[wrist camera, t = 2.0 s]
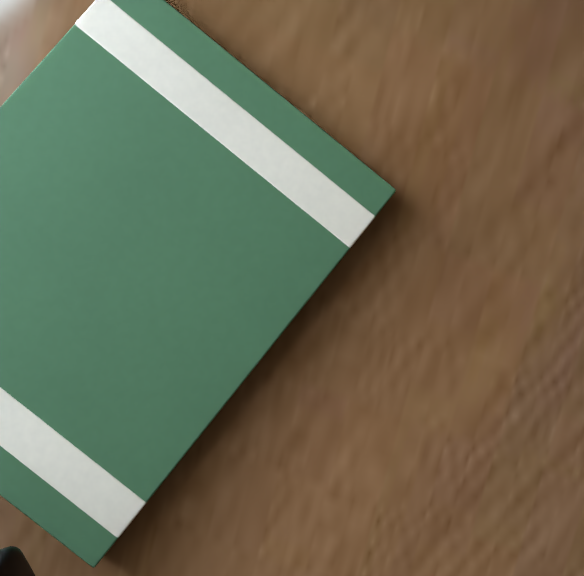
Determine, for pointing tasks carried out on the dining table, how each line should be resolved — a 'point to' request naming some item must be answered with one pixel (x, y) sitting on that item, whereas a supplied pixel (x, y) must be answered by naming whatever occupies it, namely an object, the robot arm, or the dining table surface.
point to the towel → (148, 256)
